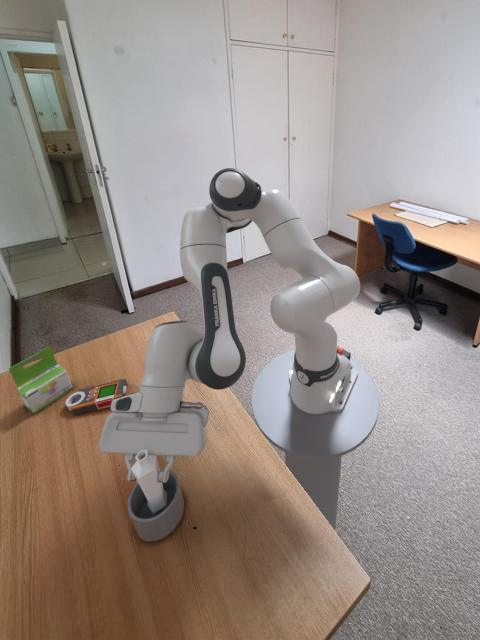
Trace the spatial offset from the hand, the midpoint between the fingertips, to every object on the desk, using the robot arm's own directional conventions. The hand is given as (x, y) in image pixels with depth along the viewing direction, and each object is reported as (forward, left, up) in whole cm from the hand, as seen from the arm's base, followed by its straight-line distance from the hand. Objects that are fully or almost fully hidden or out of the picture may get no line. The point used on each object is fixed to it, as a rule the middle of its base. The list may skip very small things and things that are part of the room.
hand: (147, 480), depth 62 cm
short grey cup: (0, 0, -12) cm, 12 cm away
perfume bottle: (-1, 0, -8) cm, 9 cm away
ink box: (+4, -51, -12) cm, 53 cm away
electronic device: (-4, -39, -12) cm, 41 cm away
